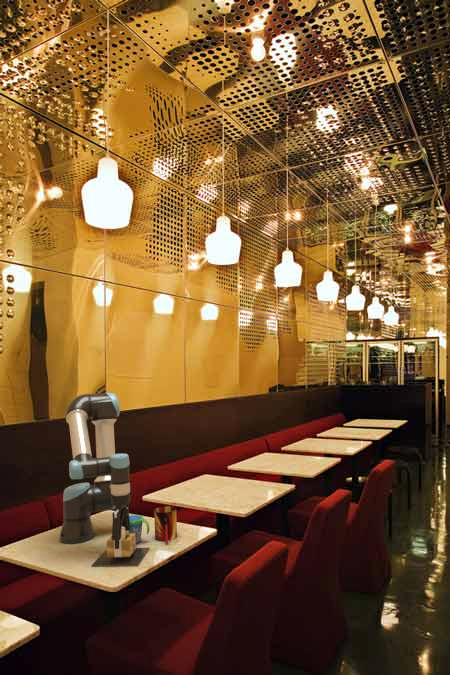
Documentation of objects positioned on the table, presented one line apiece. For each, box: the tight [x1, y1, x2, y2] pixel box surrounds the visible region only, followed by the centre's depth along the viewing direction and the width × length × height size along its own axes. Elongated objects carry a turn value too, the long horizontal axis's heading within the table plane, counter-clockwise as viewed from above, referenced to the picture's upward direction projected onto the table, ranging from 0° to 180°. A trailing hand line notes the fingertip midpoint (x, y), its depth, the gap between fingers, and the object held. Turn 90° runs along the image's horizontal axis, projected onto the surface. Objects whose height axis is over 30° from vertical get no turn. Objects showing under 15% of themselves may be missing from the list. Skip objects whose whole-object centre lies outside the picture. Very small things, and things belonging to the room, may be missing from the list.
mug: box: [153, 506, 178, 543], centre depth 206 cm, size 10×14×12 cm
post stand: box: [91, 526, 151, 568], centre depth 186 cm, size 18×18×12 cm
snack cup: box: [128, 514, 150, 545], centre depth 203 cm, size 16×10×10 cm
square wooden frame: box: [106, 533, 137, 557], centre depth 186 cm, size 9×9×6 cm
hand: (121, 552), depth 185 cm, fingers closed on square wooden frame, 9 cm apart
